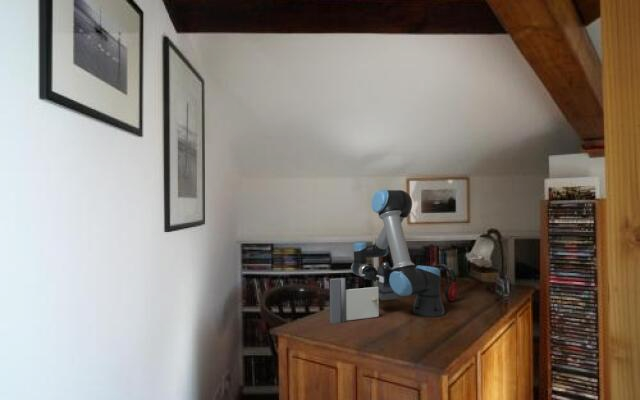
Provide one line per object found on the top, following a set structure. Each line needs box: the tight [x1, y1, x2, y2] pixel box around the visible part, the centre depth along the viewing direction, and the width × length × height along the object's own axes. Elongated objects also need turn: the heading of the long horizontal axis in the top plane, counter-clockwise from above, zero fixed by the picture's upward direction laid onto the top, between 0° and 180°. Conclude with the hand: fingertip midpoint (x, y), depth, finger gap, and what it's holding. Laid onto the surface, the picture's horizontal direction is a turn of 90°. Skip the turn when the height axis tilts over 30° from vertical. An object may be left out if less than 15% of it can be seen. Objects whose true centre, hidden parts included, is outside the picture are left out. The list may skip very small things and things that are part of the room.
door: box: [345, 286, 380, 321], centre depth 174 cm, size 17×3×14 cm, turn 110°
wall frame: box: [329, 277, 347, 325], centre depth 170 cm, size 7×3×20 cm, turn 110°
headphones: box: [432, 263, 459, 302], centre depth 211 cm, size 18×10×20 cm, turn 38°
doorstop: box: [376, 261, 399, 301], centre depth 187 cm, size 9×9×18 cm
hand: (389, 279), depth 184 cm, fingers closed on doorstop, 6 cm apart
